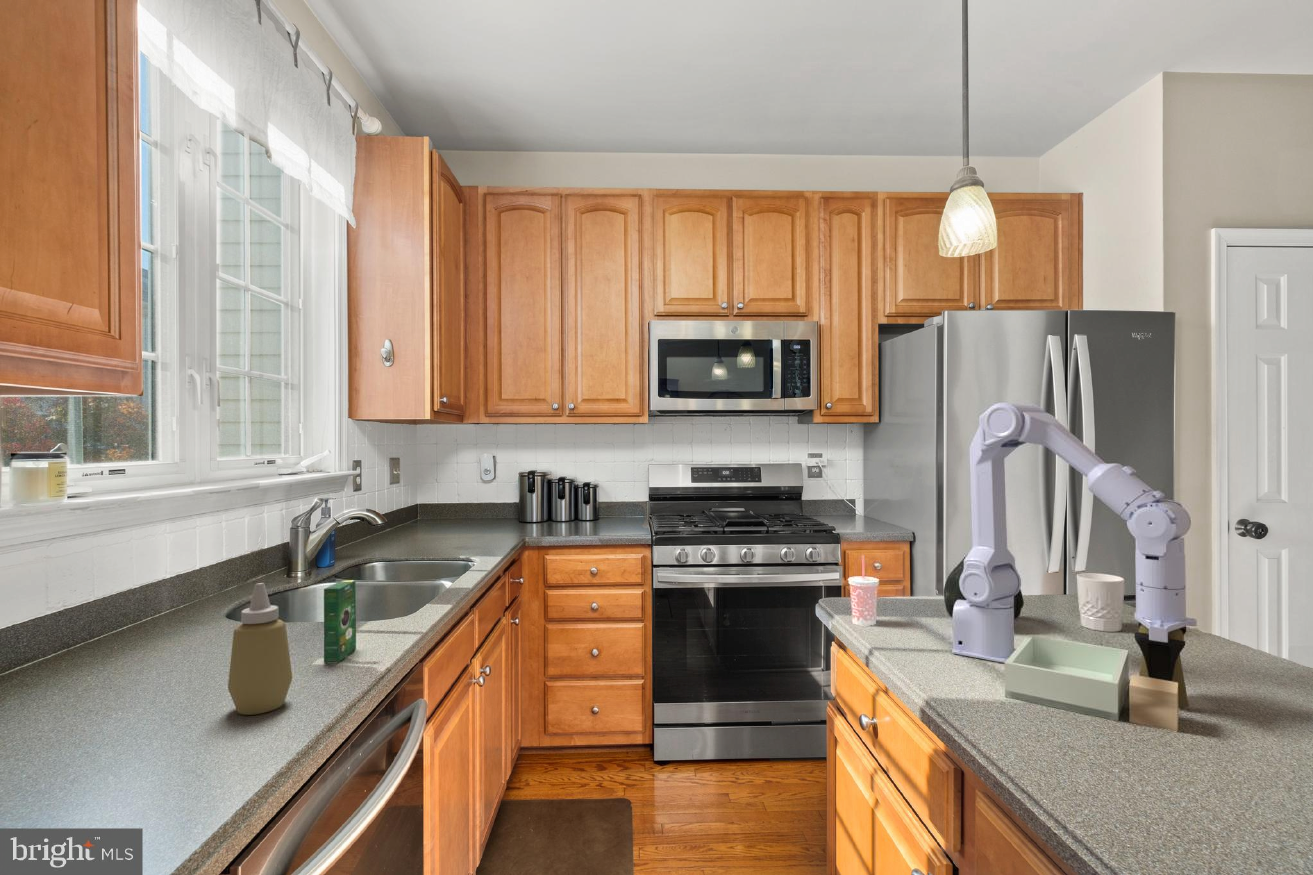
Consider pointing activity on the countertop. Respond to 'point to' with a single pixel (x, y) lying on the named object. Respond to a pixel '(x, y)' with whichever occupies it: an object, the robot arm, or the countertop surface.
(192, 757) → the countertop surface
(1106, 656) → the tote
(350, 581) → the coffee box
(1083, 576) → the white cup
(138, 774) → the countertop surface
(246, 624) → the squeeze bottle
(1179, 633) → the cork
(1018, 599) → the squash
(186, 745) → the countertop surface
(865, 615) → the beverage cup
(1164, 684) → the maple cube
